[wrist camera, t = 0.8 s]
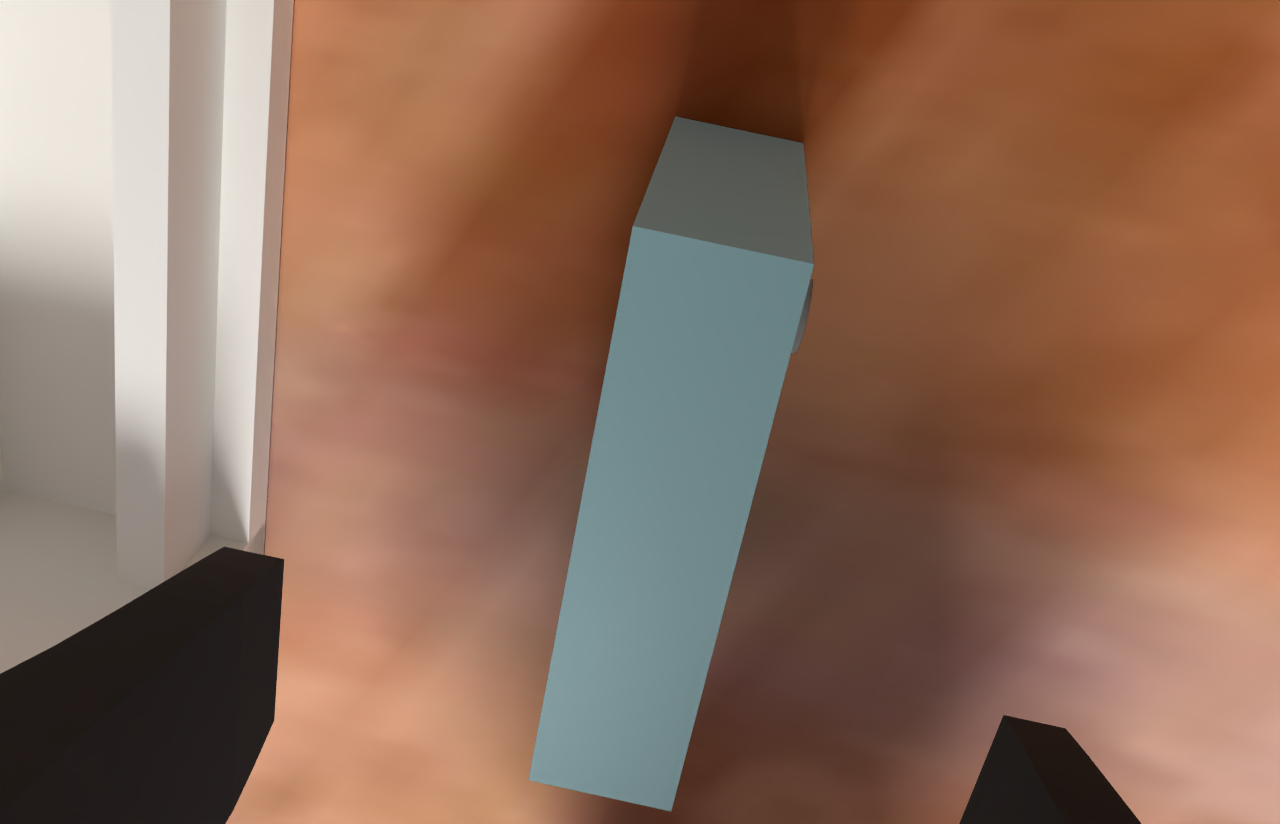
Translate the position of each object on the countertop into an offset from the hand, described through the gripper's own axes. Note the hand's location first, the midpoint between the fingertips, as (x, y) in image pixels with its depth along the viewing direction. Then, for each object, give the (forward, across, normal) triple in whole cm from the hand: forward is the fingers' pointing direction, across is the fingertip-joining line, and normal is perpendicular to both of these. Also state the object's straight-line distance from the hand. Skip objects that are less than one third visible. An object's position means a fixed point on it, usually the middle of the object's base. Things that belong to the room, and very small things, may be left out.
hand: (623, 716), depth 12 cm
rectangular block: (+9, 0, 0) cm, 9 cm away
